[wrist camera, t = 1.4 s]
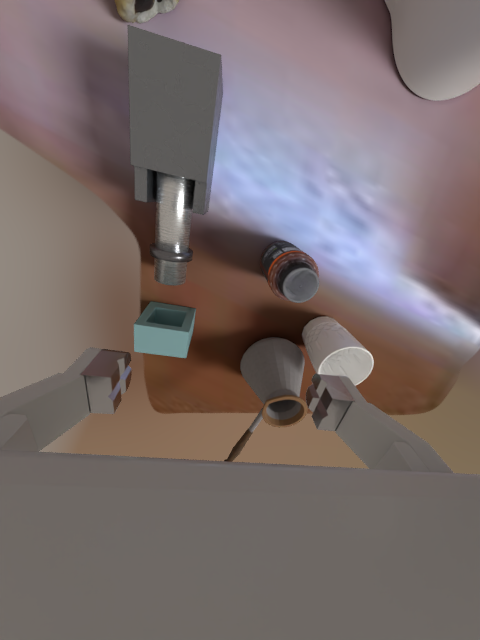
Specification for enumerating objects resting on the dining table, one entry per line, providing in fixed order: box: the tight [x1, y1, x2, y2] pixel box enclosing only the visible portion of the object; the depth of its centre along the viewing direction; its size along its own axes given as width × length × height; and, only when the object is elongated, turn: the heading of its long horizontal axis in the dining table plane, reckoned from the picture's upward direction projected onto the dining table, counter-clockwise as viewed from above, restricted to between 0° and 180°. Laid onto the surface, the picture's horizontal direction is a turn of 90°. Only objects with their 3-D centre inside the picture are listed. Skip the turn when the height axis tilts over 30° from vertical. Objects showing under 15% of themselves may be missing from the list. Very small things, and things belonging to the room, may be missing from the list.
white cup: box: [302, 316, 374, 385], centre depth 36 cm, size 8×8×10 cm
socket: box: [134, 301, 196, 358], centre depth 34 cm, size 4×7×7 cm, turn 78°
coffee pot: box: [224, 337, 307, 462], centre depth 38 cm, size 21×12×15 cm, turn 140°
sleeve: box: [128, 25, 223, 215], centre depth 24 cm, size 12×7×7 cm, turn 168°
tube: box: [150, 172, 195, 285], centre depth 26 cm, size 19×5×5 cm, turn 168°
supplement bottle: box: [260, 241, 319, 303], centre depth 29 cm, size 6×6×11 cm
